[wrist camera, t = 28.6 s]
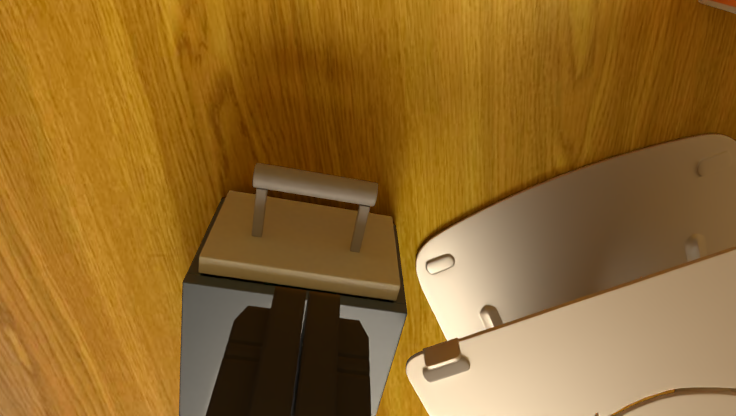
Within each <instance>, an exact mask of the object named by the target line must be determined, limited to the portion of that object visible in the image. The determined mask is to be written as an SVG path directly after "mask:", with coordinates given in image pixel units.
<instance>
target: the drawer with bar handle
mask: <svg viewBox="0 0 736 416" xmlns="http://www.w3.org/2000/svg"><path fill="white" fill-rule="evenodd" d="M253 187H256V194H250V193H243V192H237V191H231V190H229V192H228V194H227V196H226V198H225V200H224V203H223V205H222V207H221V209H220V211H219V214H218V216H217V218H216V220H215V223H214V225H213V227H212V229H211V231H210V234H209V236H208V238H207V240H206V242H205V245H204V247H203V249H202V251H201V253H200V256H199V270H198V271H199V273H203V274H210V275H217V276H216V278H222V279H229V280H236V281H243V282H250V283H257V284H263V283H264V282H267V283H274V284H281V285H288V286H295V287H302V288H309V289H316V290H323V291H330V292H337V295H341V296H348V297H355V298H362V299H369V300H377V301H379V299H386V300H393V301H396V300H397V296H398V293H399V289H400V277H399V269H398V260H397V252H396V244H395V235H394V227H393V218H392V216H386V215H380V214H373V213H369V210H370V206H374V205H375V203H376V199H377V193H378V183H376V182H370V181H364V180H358V179H352V178H346V177H340V176H334V175H328V174H322V173H316V172H310V171H304V170H299V169H293V168H287V167H281V166H275V165H269V164H263V163H256V165H255V169H254V174H253ZM268 189H269V190H275V191H281V192H287V193H293V194H299V195H305V196H312V197H318V198H324V199H330V200H336V201H342V202H348V203H355V204H359V208H358V211H355V210H349V209H343V208H336V207H330V206H324V205H318V204H312V203H305V202H299V201H293V200H287V199H281V198H274V197H268V196H267V192H268Z"/></svg>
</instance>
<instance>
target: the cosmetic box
mask: <svg viewBox="0 0 736 416" xmlns="http://www.w3.org/2000/svg"><path fill="white" fill-rule="evenodd" d="M698 2H699V3H701V4H704V5H708V6H711V7H715V8H718V9H721V10H725V11H728V12H732V13H735V14H736V0H698Z"/></svg>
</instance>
